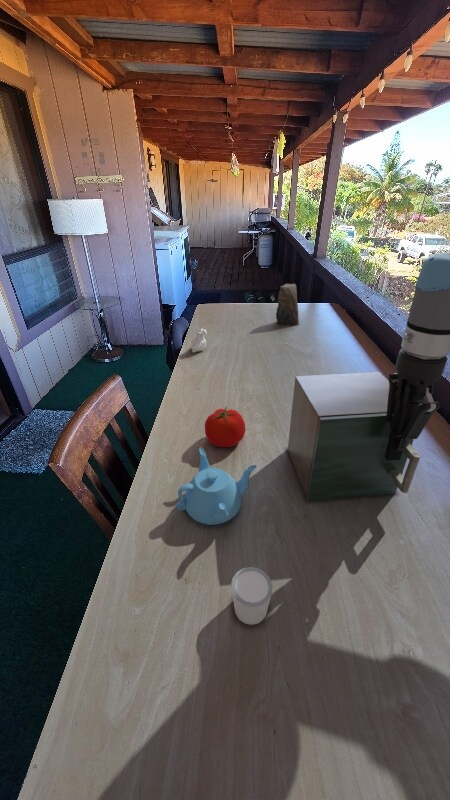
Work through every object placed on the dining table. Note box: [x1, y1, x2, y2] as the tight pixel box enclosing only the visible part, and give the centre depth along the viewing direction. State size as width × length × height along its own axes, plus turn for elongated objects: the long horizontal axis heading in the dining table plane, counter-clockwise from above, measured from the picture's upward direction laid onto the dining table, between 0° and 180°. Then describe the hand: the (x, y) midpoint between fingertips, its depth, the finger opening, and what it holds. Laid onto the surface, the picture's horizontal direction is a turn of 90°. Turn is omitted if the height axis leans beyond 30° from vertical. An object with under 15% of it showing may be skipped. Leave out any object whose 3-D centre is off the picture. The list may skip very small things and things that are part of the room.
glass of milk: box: [230, 566, 273, 626], centre depth 60 cm, size 7×7×7 cm
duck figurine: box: [191, 328, 208, 353], centre depth 159 cm, size 12×8×11 cm
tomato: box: [204, 405, 246, 448], centre depth 100 cm, size 12×12×10 cm
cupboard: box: [287, 371, 390, 498], centre depth 86 cm, size 18×22×24 cm
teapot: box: [175, 447, 257, 526], centre depth 79 cm, size 15×15×10 cm
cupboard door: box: [306, 413, 421, 502], centre depth 75 cm, size 7×22×23 cm, turn 96°
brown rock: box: [275, 283, 300, 326], centre depth 190 cm, size 13×13×20 cm
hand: (392, 458), depth 72 cm, fingers closed
